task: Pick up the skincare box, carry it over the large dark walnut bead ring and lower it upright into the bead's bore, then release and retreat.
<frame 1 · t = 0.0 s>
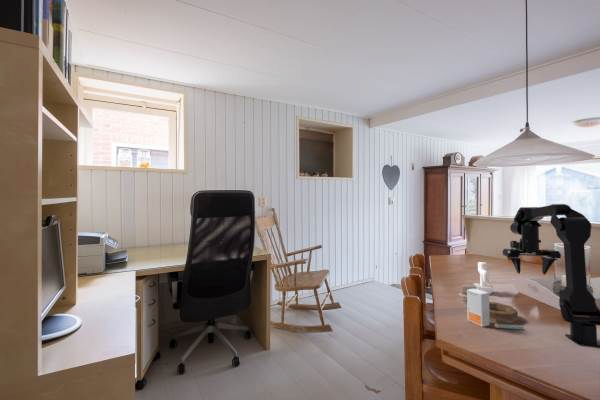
hand: (531, 273, 118), 15 cm above the table, fingers open, 9 cm apart
architectural model: (470, 303, 127), on the table
figurine: (483, 293, 139), on the table
teal thin rod: (510, 328, 100), on the table
skincare box: (478, 323, 105), on the table
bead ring: (496, 316, 110), on the table
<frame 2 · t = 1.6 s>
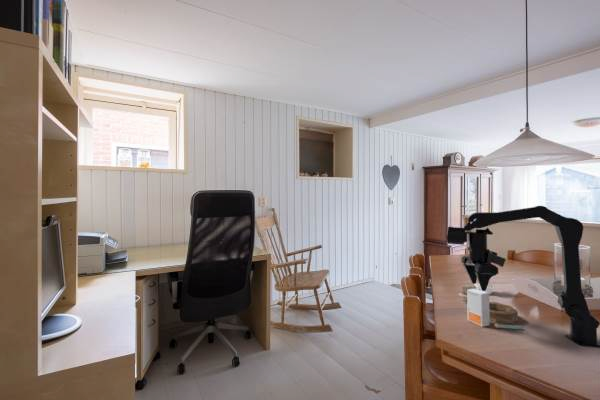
hand: (478, 287, 105), 13 cm above the table, fingers open, 9 cm apart
nothing on the table moved.
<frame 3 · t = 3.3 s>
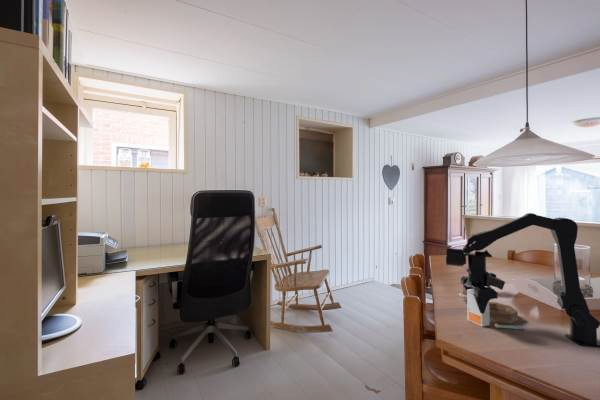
hand: (478, 309, 105), 5 cm above the table, fingers closed on skincare box, 7 cm apart
skincare box: (478, 323, 105), on the table, touching gripper
everything else where it was.
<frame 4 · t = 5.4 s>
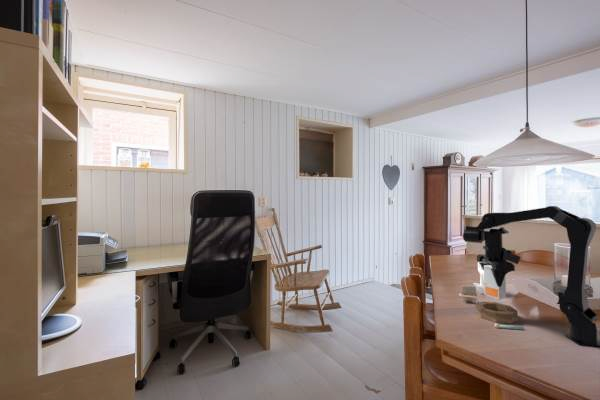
hand: (494, 283, 110), 13 cm above the table, fingers closed on skincare box, 7 cm apart
skincare box: (495, 297, 110), point 8 cm above the table, touching gripper
everything else where it was.
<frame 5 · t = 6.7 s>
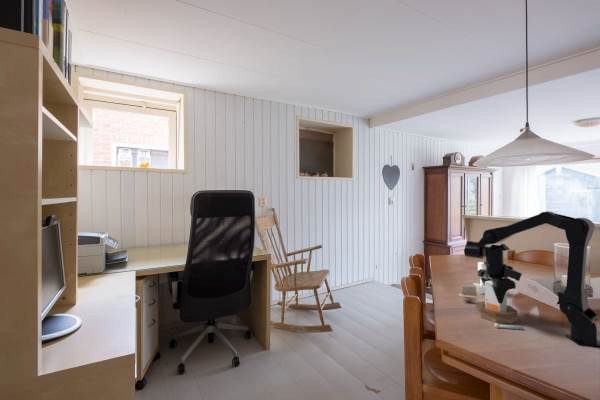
hand: (495, 300, 111), 6 cm above the table, fingers closed on skincare box, 7 cm apart
skincare box: (496, 313, 110), point 1 cm above the table, touching gripper
everything else where it was.
when the fingers open (6 cm above the table, at t = 7.5 s): skincare box drops 1 cm, resting in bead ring.
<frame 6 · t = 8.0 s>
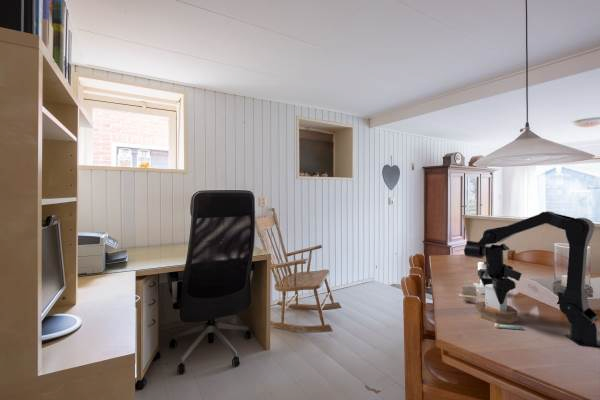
hand: (495, 299, 111), 6 cm above the table, fingers open, 9 cm apart
skincare box: (496, 317, 110), resting in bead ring
everything else where it was.
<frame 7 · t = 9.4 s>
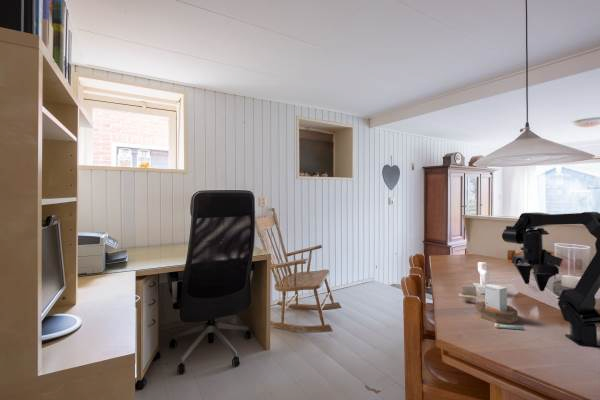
hand: (534, 287, 105), 13 cm above the table, fingers open, 9 cm apart
nothing on the table moved.
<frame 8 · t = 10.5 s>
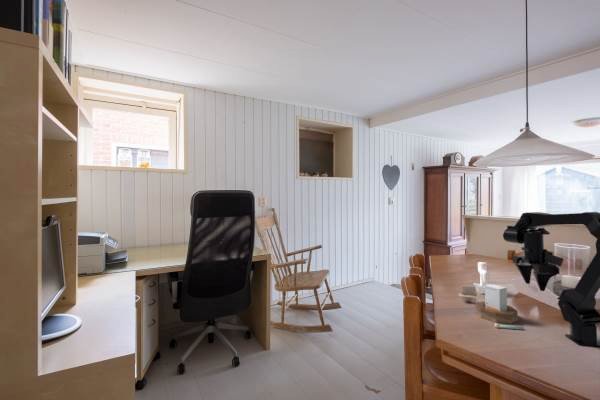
hand: (534, 287, 105), 13 cm above the table, fingers open, 9 cm apart
nothing on the table moved.
at the end: skincare box 0.2 cm off-centre on the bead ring, point 0.0 cm above the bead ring's base; skincare box tilted 0°; the gripper is holding nothing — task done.
